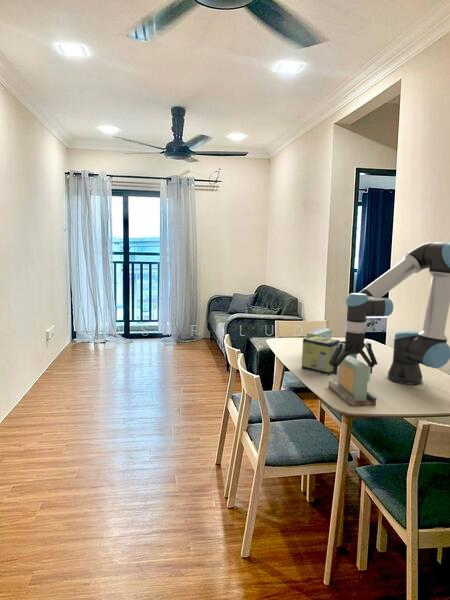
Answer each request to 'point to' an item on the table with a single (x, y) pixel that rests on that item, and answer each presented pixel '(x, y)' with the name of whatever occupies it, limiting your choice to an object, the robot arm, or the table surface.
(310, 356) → the protein box
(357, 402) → the facing shelf
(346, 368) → the cracker box
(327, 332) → the snack box
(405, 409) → the table surface
